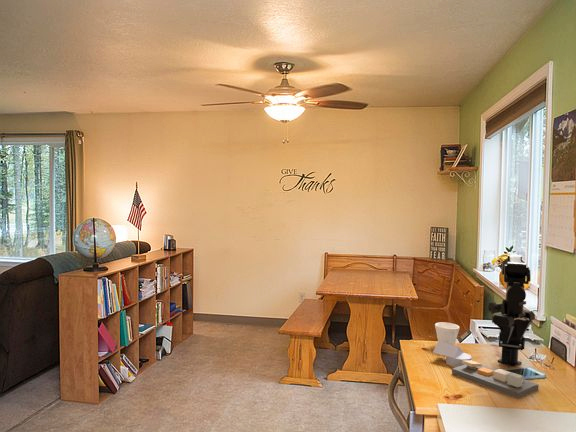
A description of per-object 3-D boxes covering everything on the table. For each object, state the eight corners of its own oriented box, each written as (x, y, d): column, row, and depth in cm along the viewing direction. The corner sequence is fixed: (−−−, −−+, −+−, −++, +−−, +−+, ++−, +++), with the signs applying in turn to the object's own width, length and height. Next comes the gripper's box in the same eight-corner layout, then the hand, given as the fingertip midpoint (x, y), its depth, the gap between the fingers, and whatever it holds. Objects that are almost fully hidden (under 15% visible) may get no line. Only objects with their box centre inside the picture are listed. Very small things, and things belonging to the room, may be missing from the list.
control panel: (472, 367, 173) (473, 359, 173) (538, 389, 153) (538, 381, 153) (451, 374, 165) (452, 366, 165) (518, 398, 146) (518, 390, 146)
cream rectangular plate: (471, 363, 169) (471, 360, 169) (481, 366, 166) (481, 363, 166) (461, 363, 166) (462, 360, 166) (471, 366, 163) (472, 363, 163)
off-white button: (499, 375, 160) (499, 368, 159) (510, 379, 156) (511, 372, 156) (493, 378, 157) (493, 370, 157) (504, 382, 154) (504, 374, 154)
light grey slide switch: (511, 381, 153) (512, 372, 153) (522, 385, 151) (522, 375, 150) (507, 383, 152) (507, 374, 152) (517, 387, 149) (518, 377, 149)
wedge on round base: (432, 361, 178) (466, 370, 170) (433, 344, 178) (467, 352, 169) (441, 355, 185) (474, 364, 176) (442, 339, 185) (475, 346, 176)
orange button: (483, 373, 164) (483, 367, 164) (493, 377, 161) (494, 370, 161) (477, 376, 162) (477, 369, 162) (487, 380, 159) (488, 372, 159)
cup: (455, 352, 189) (456, 330, 189) (431, 347, 194) (432, 325, 194) (460, 346, 198) (461, 324, 197) (437, 341, 203) (438, 320, 203)
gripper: (506, 291, 175) (504, 331, 175) (478, 295, 164) (476, 339, 165) (536, 296, 166) (534, 339, 166) (509, 302, 155) (507, 347, 156)
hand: (512, 341), depth 164 cm, fingers open, 9 cm apart
